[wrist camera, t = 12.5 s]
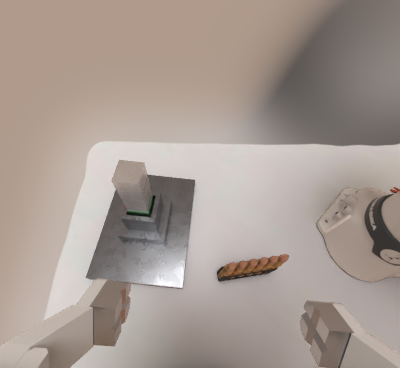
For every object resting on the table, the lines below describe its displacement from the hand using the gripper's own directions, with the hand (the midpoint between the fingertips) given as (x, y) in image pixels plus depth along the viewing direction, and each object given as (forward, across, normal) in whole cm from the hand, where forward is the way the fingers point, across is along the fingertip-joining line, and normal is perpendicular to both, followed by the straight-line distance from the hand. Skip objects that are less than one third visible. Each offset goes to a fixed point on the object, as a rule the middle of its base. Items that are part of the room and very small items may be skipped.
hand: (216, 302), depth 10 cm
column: (+31, +11, +9) cm, 34 cm away
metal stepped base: (+35, +11, +13) cm, 39 cm away
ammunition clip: (+30, -10, +19) cm, 37 cm away
